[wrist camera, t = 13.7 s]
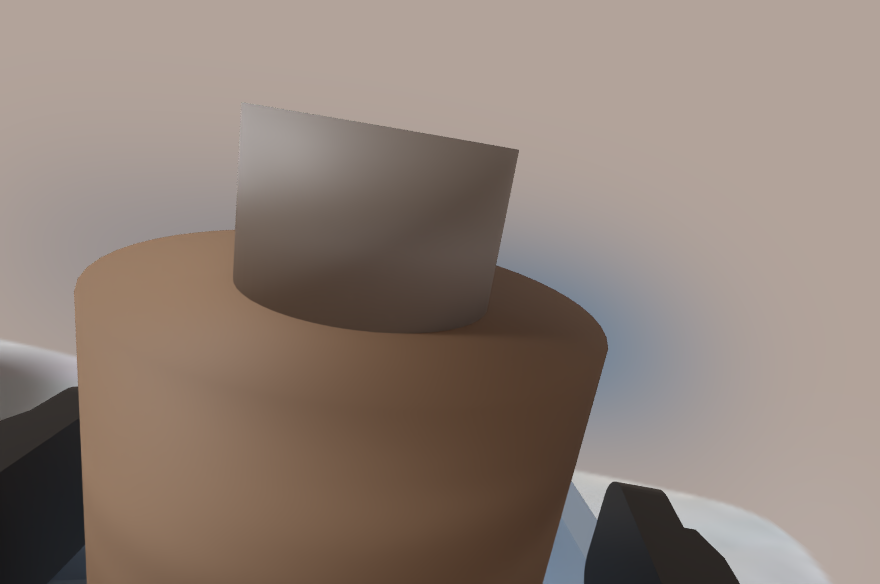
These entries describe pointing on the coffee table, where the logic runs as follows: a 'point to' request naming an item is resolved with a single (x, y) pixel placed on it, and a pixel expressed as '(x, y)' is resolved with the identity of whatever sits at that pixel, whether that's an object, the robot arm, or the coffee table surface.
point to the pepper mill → (332, 375)
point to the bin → (562, 568)
